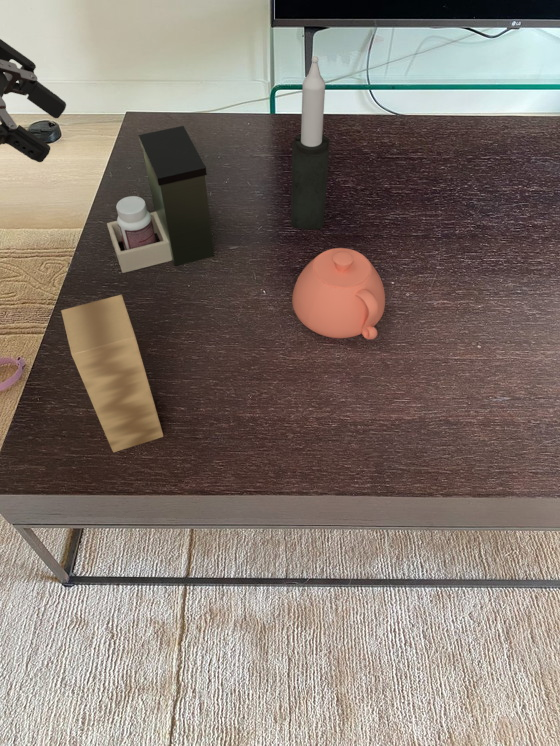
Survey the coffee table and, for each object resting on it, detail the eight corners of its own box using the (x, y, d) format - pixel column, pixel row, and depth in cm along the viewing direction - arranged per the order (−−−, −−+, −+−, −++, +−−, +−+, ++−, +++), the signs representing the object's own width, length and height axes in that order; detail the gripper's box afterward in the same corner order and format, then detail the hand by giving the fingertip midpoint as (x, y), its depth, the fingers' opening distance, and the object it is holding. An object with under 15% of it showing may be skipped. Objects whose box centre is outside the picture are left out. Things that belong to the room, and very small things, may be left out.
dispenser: (173, 267, 90) (157, 178, 78) (155, 224, 96) (138, 134, 84) (215, 256, 92) (206, 167, 79) (195, 214, 97) (183, 125, 85)
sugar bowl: (347, 271, 90) (354, 213, 82) (408, 333, 82) (422, 277, 74) (275, 303, 86) (274, 246, 78) (332, 371, 79) (338, 317, 70)
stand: (113, 452, 71) (71, 354, 57) (102, 412, 75) (60, 310, 60) (163, 436, 73) (135, 336, 58) (151, 397, 76) (121, 294, 62)
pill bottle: (164, 247, 93) (155, 201, 86) (143, 266, 90) (132, 219, 84) (139, 236, 94) (129, 189, 88) (118, 254, 92) (106, 207, 85)
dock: (122, 273, 89) (117, 255, 87) (111, 241, 94) (106, 222, 91) (172, 260, 91) (168, 242, 88) (159, 229, 95) (155, 211, 92)
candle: (293, 206, 99) (296, 45, 79) (325, 209, 98) (336, 47, 78) (290, 227, 95) (292, 65, 76) (323, 230, 95) (334, 67, 75)
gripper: (-114, 31, 53) (59, 149, 62) (-61, -36, 62) (84, 76, 71) (-142, 91, 57) (23, 193, 67) (-89, 20, 66) (51, 119, 75)
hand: (54, 132), depth 69 cm, fingers open, 8 cm apart
